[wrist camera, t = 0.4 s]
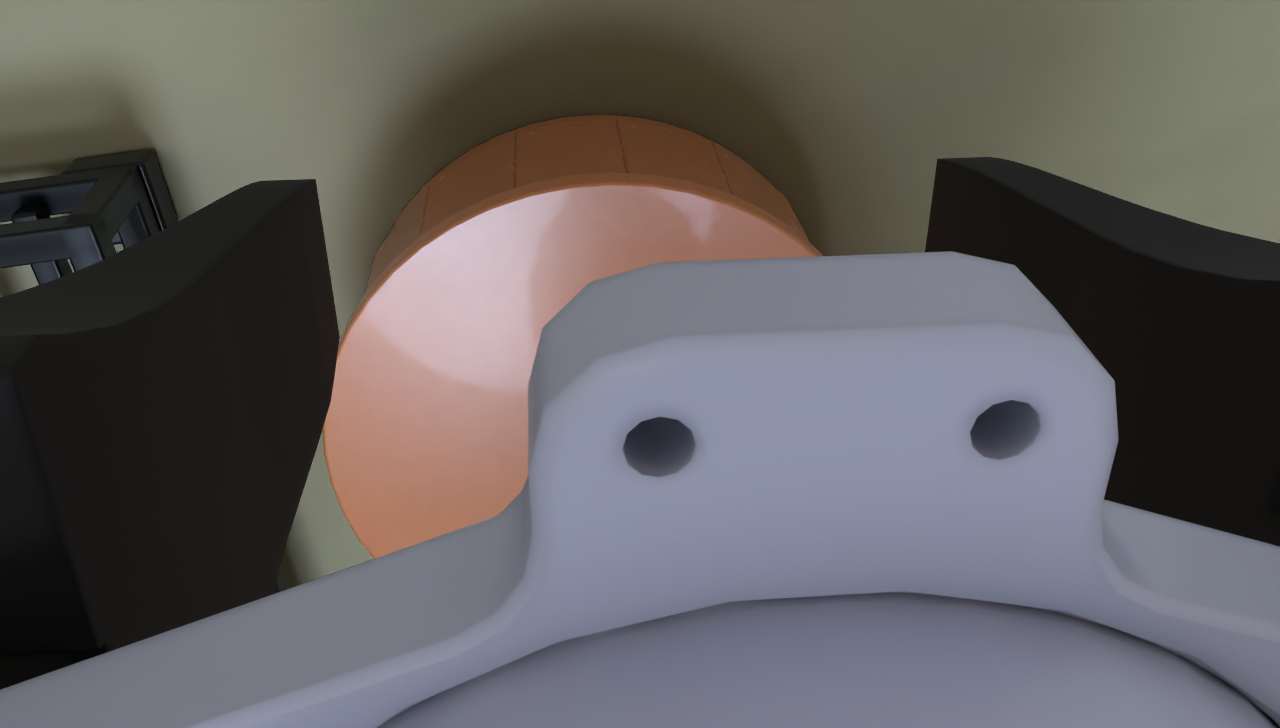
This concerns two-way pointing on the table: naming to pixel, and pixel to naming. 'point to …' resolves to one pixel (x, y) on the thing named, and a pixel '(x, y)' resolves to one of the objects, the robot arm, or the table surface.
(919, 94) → the table surface
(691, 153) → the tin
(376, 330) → the lid
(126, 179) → the dish rack
